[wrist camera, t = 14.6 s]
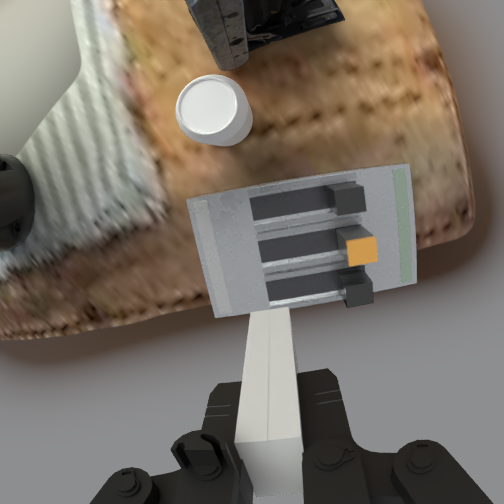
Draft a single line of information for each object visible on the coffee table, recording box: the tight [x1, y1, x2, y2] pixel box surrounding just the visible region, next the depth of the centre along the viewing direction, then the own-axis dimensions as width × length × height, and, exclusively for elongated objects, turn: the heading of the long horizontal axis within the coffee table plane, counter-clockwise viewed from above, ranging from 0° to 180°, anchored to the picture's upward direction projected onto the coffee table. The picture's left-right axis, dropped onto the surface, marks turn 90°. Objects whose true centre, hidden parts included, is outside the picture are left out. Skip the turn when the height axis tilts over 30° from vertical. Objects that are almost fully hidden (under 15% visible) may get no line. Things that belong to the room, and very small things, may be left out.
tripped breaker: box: [336, 225, 378, 266], centre depth 33 cm, size 3×2×6 cm
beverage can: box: [176, 75, 253, 146], centre depth 29 cm, size 6×6×12 cm
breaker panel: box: [186, 163, 417, 318], centre depth 35 cm, size 26×15×7 cm, turn 101°
